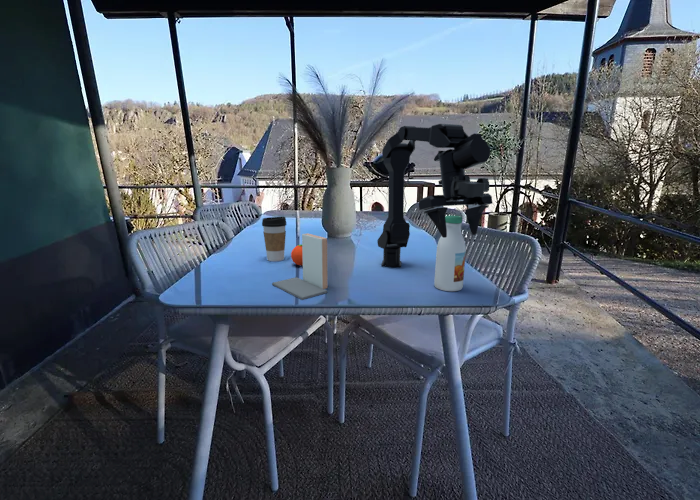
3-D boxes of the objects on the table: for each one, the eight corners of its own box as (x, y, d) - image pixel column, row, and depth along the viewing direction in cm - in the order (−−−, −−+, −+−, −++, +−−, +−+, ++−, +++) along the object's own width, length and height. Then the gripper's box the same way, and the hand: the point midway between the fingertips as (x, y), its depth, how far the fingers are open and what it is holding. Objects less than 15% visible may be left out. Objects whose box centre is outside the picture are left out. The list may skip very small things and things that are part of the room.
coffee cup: (285, 262, 125) (283, 219, 121) (260, 262, 125) (258, 219, 121) (289, 256, 133) (288, 215, 129) (266, 256, 133) (264, 215, 129)
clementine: (288, 262, 125) (288, 242, 123) (308, 260, 127) (308, 241, 125) (293, 268, 117) (293, 247, 116) (314, 266, 120) (314, 246, 118)
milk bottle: (443, 293, 97) (448, 219, 92) (429, 284, 104) (433, 214, 99) (468, 290, 99) (474, 217, 94) (452, 281, 106) (458, 213, 101)
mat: (296, 279, 107) (296, 277, 107) (327, 292, 96) (327, 290, 96) (272, 284, 102) (272, 282, 102) (302, 299, 91) (302, 297, 91)
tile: (308, 280, 106) (307, 233, 103) (327, 287, 100) (327, 238, 97) (303, 281, 105) (301, 234, 102) (321, 289, 99) (321, 239, 95)
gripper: (442, 165, 80) (450, 235, 79) (505, 165, 87) (513, 229, 86) (414, 177, 90) (421, 240, 89) (473, 176, 97) (479, 234, 97)
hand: (459, 236), depth 90 cm, fingers open, 9 cm apart
